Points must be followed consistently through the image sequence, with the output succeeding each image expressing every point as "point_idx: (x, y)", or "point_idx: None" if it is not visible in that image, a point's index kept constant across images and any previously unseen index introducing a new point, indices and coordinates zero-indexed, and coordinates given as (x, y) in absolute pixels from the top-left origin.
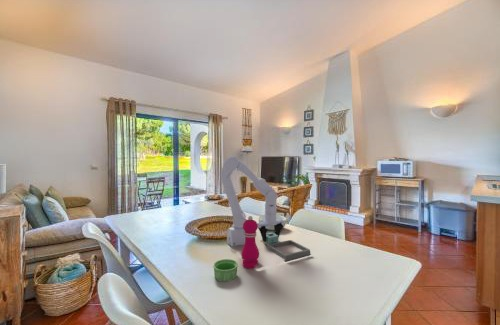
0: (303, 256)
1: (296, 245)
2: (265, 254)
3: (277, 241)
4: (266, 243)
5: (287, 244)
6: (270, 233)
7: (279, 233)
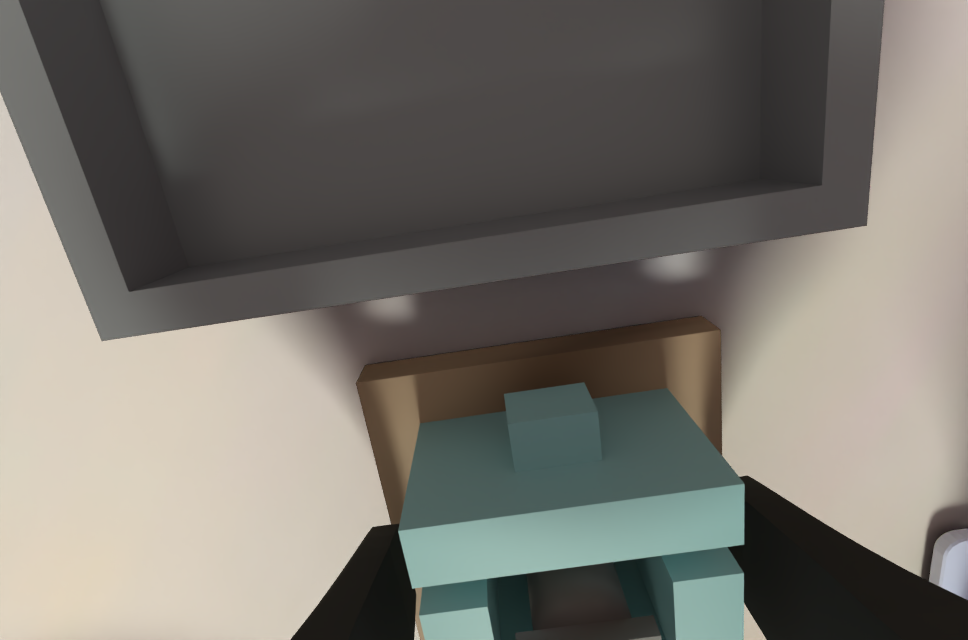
0: None
1: (59, 9)
2: (949, 22)
3: (442, 435)
4: None
5: (262, 260)
6: None
7: (314, 627)
